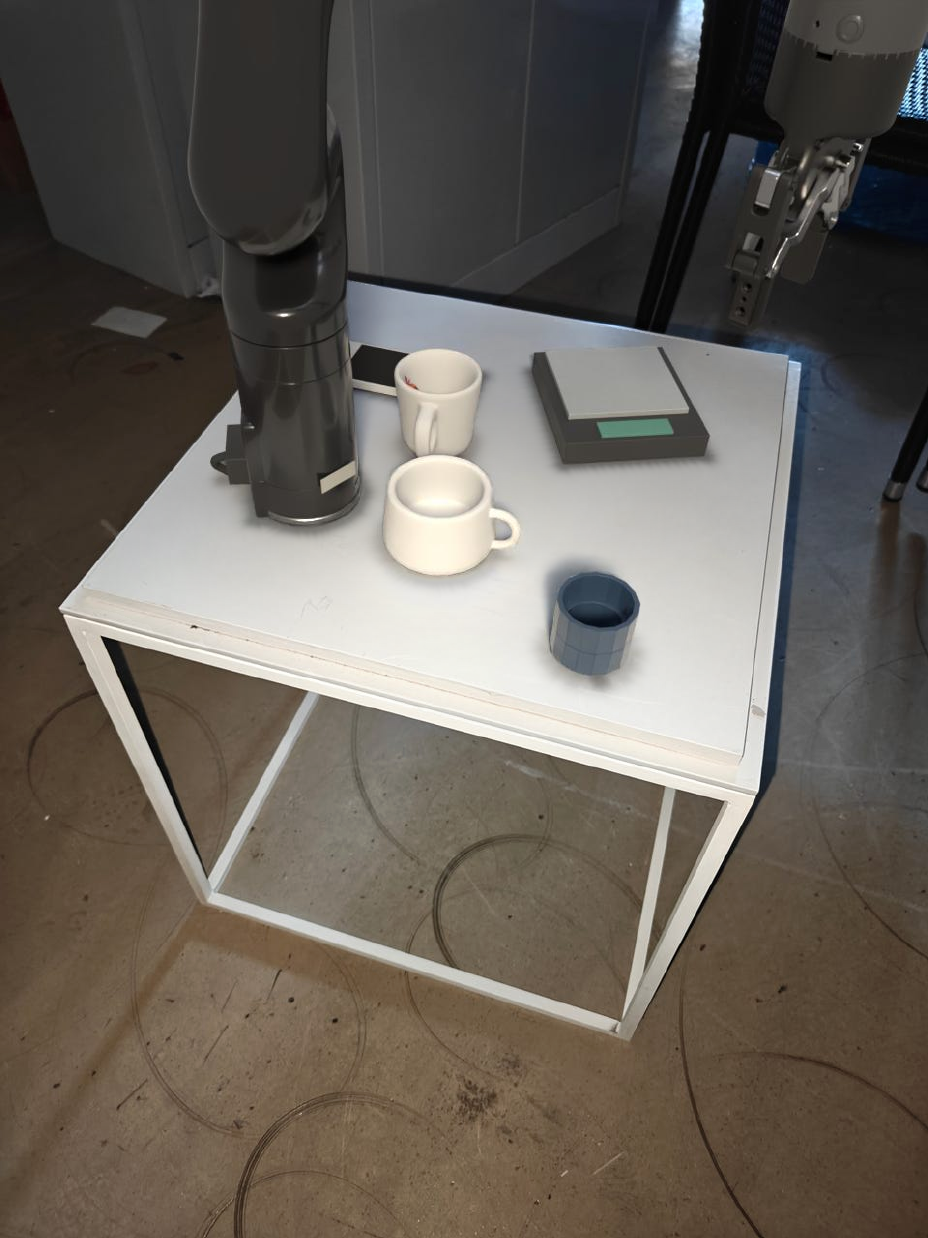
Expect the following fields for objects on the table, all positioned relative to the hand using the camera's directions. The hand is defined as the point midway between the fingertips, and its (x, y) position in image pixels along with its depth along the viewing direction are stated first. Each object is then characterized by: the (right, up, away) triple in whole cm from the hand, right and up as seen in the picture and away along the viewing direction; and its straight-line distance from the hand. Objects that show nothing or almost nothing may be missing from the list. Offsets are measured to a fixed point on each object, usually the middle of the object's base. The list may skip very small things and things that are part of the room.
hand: (768, 301), depth 61 cm
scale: (-6, -1, +30) cm, 30 cm away
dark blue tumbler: (-11, -24, +8) cm, 28 cm away
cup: (-24, -6, +24) cm, 35 cm away
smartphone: (-28, +4, +33) cm, 43 cm away
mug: (-22, -15, +16) cm, 31 cm away
